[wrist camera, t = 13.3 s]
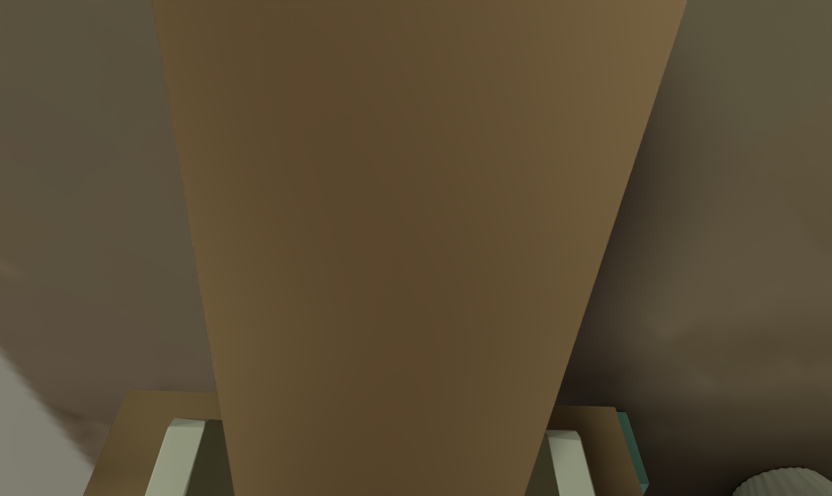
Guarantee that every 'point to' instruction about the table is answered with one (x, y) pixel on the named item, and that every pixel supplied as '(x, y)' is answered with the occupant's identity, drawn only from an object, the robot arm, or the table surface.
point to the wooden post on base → (397, 235)
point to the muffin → (786, 484)
